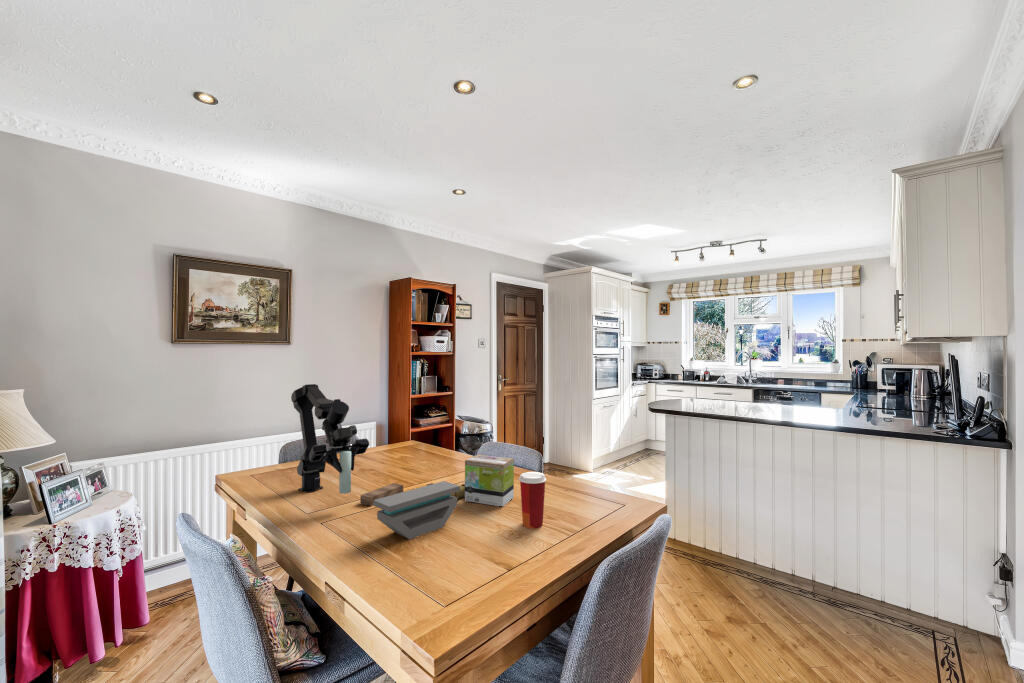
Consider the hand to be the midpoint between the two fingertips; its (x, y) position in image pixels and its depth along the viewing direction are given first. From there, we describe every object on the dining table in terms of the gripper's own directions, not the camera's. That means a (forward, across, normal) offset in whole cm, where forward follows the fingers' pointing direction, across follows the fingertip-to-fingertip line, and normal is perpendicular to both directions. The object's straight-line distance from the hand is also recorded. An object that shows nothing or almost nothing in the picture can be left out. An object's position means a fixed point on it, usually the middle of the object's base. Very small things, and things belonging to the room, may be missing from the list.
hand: (347, 471), depth 145 cm
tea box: (+26, +42, -7) cm, 49 cm away
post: (+4, 0, +6) cm, 7 cm away
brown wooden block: (+6, +15, +13) cm, 21 cm away
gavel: (+13, +34, +7) cm, 38 cm away
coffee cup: (+44, +37, -25) cm, 63 cm away
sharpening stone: (+30, +10, -11) cm, 33 cm away
